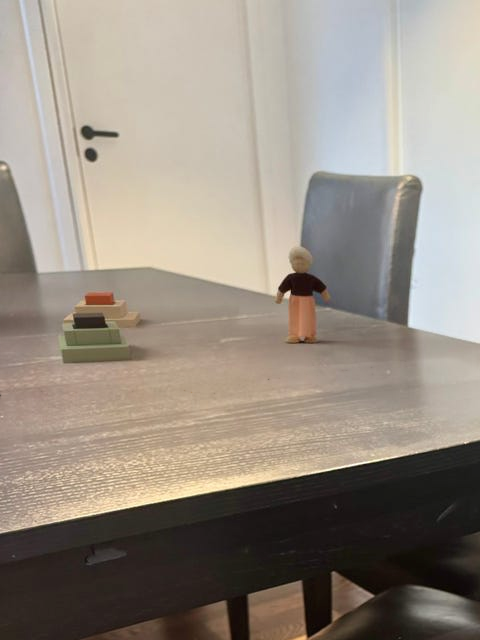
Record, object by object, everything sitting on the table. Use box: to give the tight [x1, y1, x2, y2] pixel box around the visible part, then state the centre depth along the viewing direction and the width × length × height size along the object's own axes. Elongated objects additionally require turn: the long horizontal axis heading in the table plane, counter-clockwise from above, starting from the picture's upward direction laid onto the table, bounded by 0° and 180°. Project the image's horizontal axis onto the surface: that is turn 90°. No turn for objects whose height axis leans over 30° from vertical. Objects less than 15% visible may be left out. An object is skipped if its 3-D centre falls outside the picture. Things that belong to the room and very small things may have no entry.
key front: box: [73, 313, 106, 329], centre depth 117 cm, size 4×4×2 cm
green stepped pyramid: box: [57, 321, 132, 364], centre depth 118 cm, size 11×8×4 cm
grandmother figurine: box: [274, 245, 331, 344], centre depth 128 cm, size 8×4×13 cm, turn 114°
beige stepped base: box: [62, 300, 142, 329], centre depth 140 cm, size 10×8×3 cm
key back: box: [84, 292, 115, 305], centre depth 139 cm, size 4×4×2 cm
